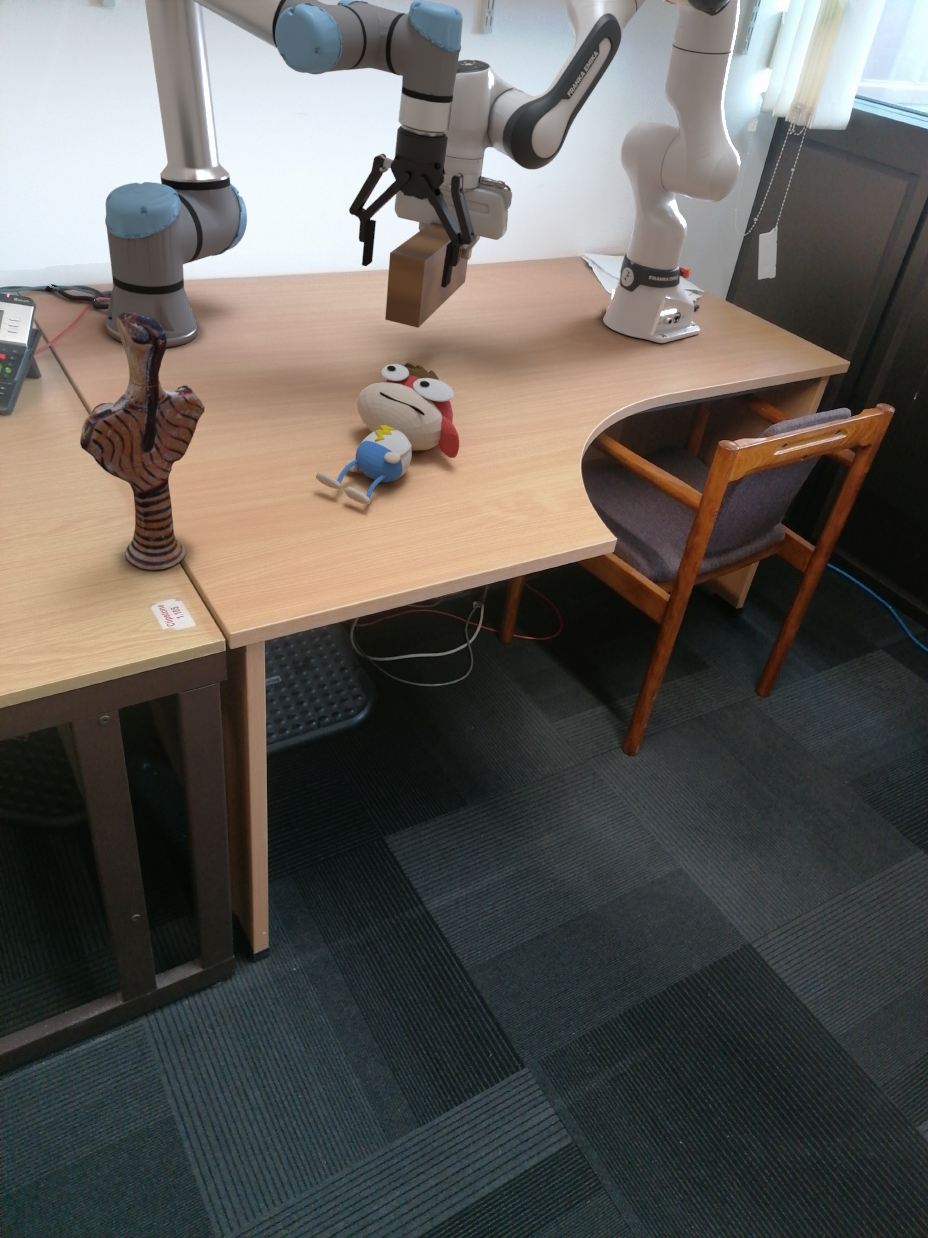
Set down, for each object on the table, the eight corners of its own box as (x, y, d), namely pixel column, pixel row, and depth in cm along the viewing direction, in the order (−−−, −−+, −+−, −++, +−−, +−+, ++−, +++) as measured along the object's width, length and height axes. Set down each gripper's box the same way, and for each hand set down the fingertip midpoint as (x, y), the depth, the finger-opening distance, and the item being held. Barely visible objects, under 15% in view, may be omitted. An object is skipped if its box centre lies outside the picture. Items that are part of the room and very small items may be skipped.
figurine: (185, 519, 115) (170, 285, 96) (226, 544, 112) (219, 308, 93) (85, 564, 105) (47, 314, 86) (127, 593, 102) (97, 341, 83)
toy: (278, 428, 121) (396, 343, 140) (277, 485, 128) (389, 398, 148) (391, 486, 117) (497, 391, 136) (384, 542, 124) (485, 444, 143)
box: (418, 327, 147) (424, 260, 140) (385, 319, 148) (389, 252, 141) (465, 281, 167) (472, 221, 160) (435, 274, 168) (442, 214, 161)
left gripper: (509, 144, 132) (484, 286, 145) (354, 106, 135) (343, 248, 148) (497, 153, 126) (472, 300, 140) (334, 112, 129) (325, 260, 143)
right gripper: (518, 179, 153) (505, 261, 162) (407, 155, 156) (400, 236, 165) (509, 187, 148) (496, 271, 157) (394, 161, 151) (388, 245, 160)
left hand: (406, 274), depth 144 cm, fingers open, 13 cm apart
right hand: (446, 253), depth 161 cm, fingers closed on box, 6 cm apart
